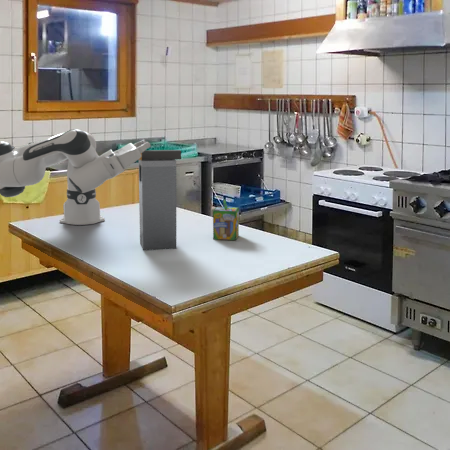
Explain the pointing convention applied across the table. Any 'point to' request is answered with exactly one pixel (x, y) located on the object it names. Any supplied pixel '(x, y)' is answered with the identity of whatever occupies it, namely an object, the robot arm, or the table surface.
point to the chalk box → (225, 222)
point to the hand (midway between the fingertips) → (147, 142)
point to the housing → (157, 204)
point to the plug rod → (160, 154)
